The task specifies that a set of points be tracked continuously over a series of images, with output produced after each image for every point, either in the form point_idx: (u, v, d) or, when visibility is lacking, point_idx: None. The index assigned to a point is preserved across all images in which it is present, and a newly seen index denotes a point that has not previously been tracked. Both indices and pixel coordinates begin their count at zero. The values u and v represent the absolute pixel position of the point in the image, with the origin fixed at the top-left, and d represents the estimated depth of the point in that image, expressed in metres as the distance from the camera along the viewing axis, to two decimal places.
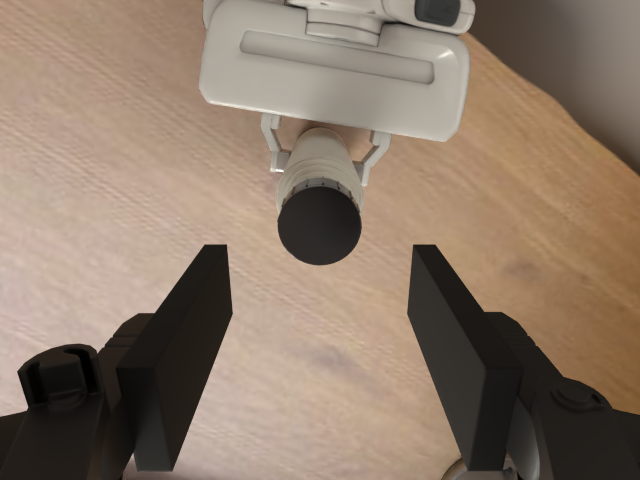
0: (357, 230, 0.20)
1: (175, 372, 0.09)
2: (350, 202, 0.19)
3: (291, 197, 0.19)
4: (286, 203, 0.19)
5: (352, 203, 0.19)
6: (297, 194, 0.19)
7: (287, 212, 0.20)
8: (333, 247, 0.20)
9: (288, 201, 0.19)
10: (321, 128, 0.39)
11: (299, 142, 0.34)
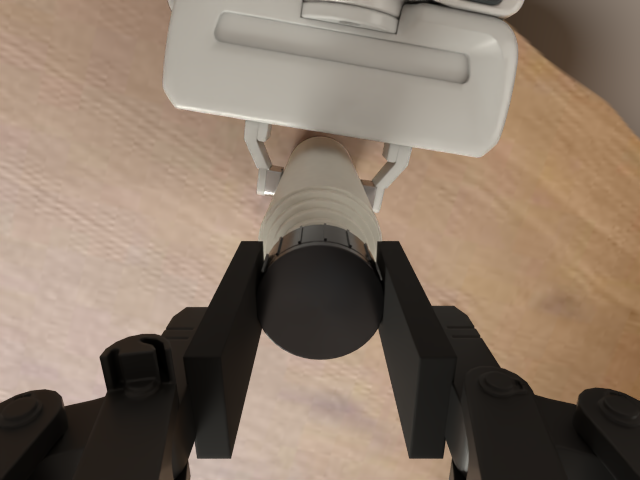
0: (378, 310, 0.13)
1: (232, 363, 0.09)
2: (368, 269, 0.12)
3: (275, 262, 0.12)
4: (267, 270, 0.12)
5: (371, 271, 0.12)
6: (285, 257, 0.12)
7: (269, 284, 0.12)
8: (341, 334, 0.13)
9: (271, 268, 0.12)
10: (321, 138, 0.32)
11: (294, 157, 0.27)
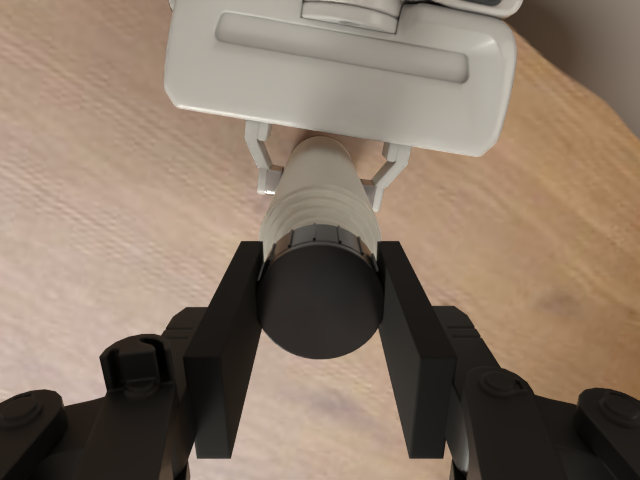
0: (292, 256, 0.12)
1: (232, 363, 0.09)
2: (260, 288, 0.13)
3: (303, 356, 0.13)
4: (314, 357, 0.13)
5: (260, 285, 0.12)
6: (294, 353, 0.13)
7: (325, 351, 0.13)
8: (337, 272, 0.12)
9: (310, 356, 0.13)
10: (321, 137, 0.32)
11: (294, 156, 0.27)
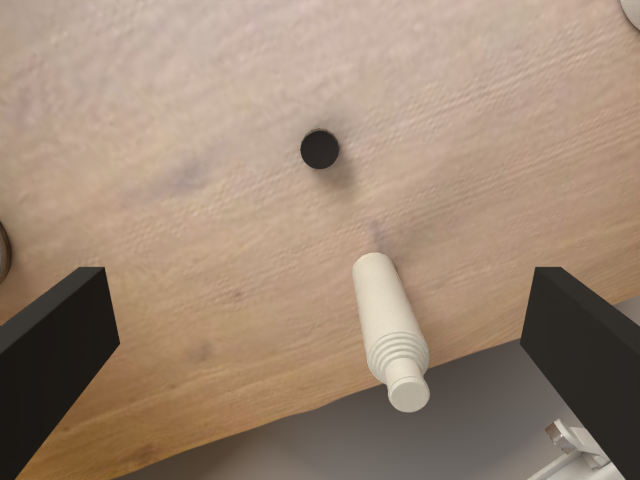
0: (337, 149, 0.43)
1: None
2: (332, 136, 0.43)
3: (305, 137, 0.43)
4: (303, 140, 0.43)
5: (333, 137, 0.43)
6: (308, 135, 0.43)
7: (304, 144, 0.43)
8: (327, 159, 0.44)
9: (304, 139, 0.43)
10: None
11: None
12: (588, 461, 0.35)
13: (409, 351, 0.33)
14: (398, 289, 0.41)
